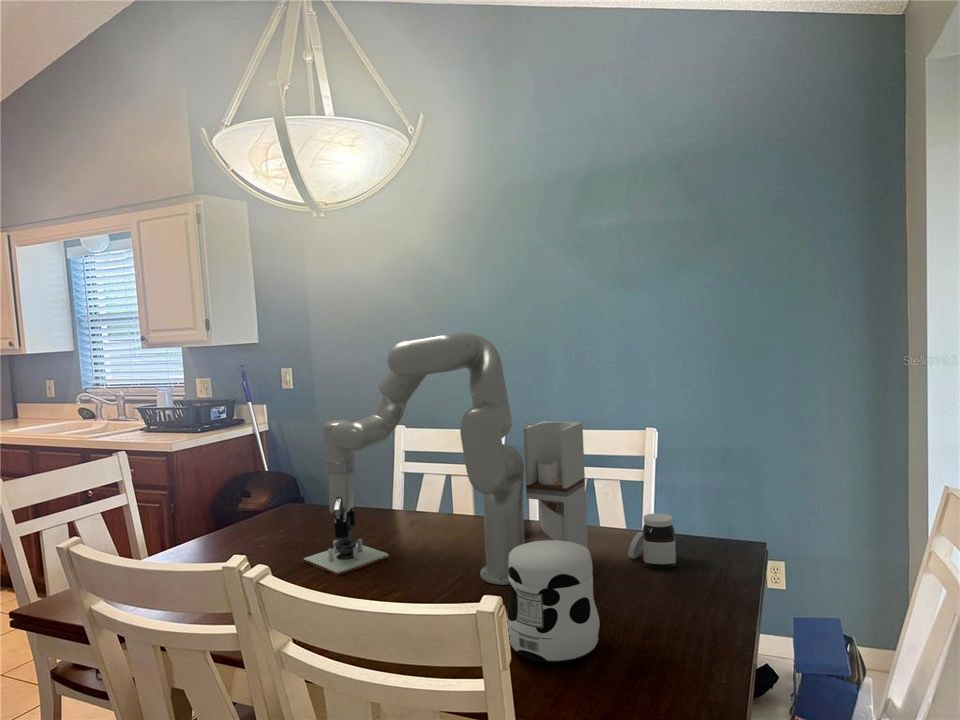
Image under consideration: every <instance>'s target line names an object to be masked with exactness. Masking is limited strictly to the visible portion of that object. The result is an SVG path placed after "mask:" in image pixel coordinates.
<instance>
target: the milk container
mask: <svg viewBox="0 0 960 720" xmlns="http://www.w3.org/2000/svg"><path fill="white" fill-rule="evenodd" d="M508 566H509V576H508V581H509V585H508V590H509V592H508V593H509V599H508V607H507V612H506V616H507V620H508V628H509V635H510V643H511V644H510V643H509V644H510V647H512V649H513V650H514V651H515V653H517V654H519V655H520V656H522V657H524V658H525V659H528V660H530V661H534V662H538V663H542V664H543V663H544V664H545V663H546V664H562V663H563V664H564V663H572V662H573V661H576V660H579V659H583V658H584V657H586V656H587V655H588V654H590V653H592V652H593V651H594V650H595V648H596V646H597V644H598V641H599V638H600V637H599V636H600V629H601V628H600V627H601V623H600V617H599V613H598V609H597V607H596V603H595V599H594V576H593V568H594V567H593V559H592V555H591V553H590V550H589V548H588V549H587V548H585V547H584V546H582V545H579V544H576V543H573V542H567V541H558V540H552V539H551V540H550V539H549V540H548V539H546V540H538V541H537V540H536V541H530V542H526V543H525V544H522V545H520V546H517V547H515V548H513V550H512V551H511V552H510V553H509V562H508Z"/></svg>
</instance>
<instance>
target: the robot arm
mask: <svg viewBox="0 0 960 720" xmlns="http://www.w3.org/2000/svg"><path fill="white" fill-rule="evenodd" d="M387 366H388V368H389V369H388V370H387V372H386V373H385V374H384V375H383V377H382V378H381V380H380V381H379V384H378V390H379V392H380V394H381V395H382V397H381V399H380V402H379V404H378V405H377V407H376V408H375V409H374V411H373V412H372V414H371V415H370V416H368V417H365V418H362V419H358V420H355V421H352V422H351V421H350V420H348V419H335V420H329V421H326V422H325V423H324V424H323V426H322V433H323V445H324V446H323V447H324V457H325V460H324V461H325V470H326V471H325V472H326V476H328V495H329V497H328V498H329V499H328V501H329V512H330V514H332V515H333V514H334V519H333V520H334V534H335V538H336V539H339V538H344V537H348V525H347V521H346V515H348V516H349V517H350V527H355V525H356V518H355V510H354V504H355V487H354V480H353V479H354V478H353V474H354V473H356V458H355V451H357V452H359V451H364V450H367V449H369V448H372V447H374V446H377V445H379V444H381V443H383V442H384V441H385V440H387V439H388V438H389V437H390V435H391V434H392V433H393V431H394V429H395V428H396V427H397V426H398V425H399V424H400V422H401V420H402V418H403V416H404V414H405V411H406V408H407V403H408V402H409V400H410V399H411V397H412V396H413V394H414V393H415V392H416V390H417V389H418V388H419V386H420V385H421V383H422V382H423V381H424V380H425V378H426V377H427V375H432V374H440V373H447V372H448V373H449V372H453V371H457V370H461V369H467V370H468V372H469V390H470V395H471V402H472V407H470V408H469V409H467V411H465V413H464V414H463V416H462V418H461V421H460V425H459V426H460V427H459V430H460V440H461V446H462V450H463V451H462V452H463V458H464V463H465V469H466V473H467V478H468V481H469V483H470V485H471V486H472V487H473V489H474V490H475V491H477V492H478V493H480V494H483V497H482V498H483V501H482V502H483V503H482V505H483V507H482V508H483V524H484V525H483V527H484V528H483V529H484V546H485V547H484V548H485V563H486V564H485V566H483V567H481V569H480V573H479V574H480V579H482V580H483V581H484V582H486V583H488V584H492V585H501V586H502V585H503V586H504V585H506V586H509V581H508V576H509V566H508V562H509V553H510V552H511V551H512V550H513V548H515V547H517V546H520V545H522V544H526V543H525V542H526V541H525V526H524V524H525V523H524V496H523V495H524V494H523V493H524V492H523V491H524V489H523V488H524V476H525V473H524V472H525V463H524V460H523V457H522V455H521V453H520V452H519V450H517V448H515V447H514V446H512V445H511V444H507V443H505V444H504V443H503V441H502V440H503V438H504V437H506V436H507V435H508V434H509V433H510V432H511V429H512V425H513V418H512V413H511V408H510V401H509V397H508V391H507V386H506V381H505V375H504V370H503V368H504V367H503V364H502V360H501V356H500V353H499V352H498V350H497V348H496V347H495V345H494V344H493V343H492V342H491V341H490V340H489V339H487V338H486V337H483V336H481V335H478V334H475V333H470V332H459V333H450V334H449V333H448V334H443V335H435V336H431V337H425V338H419V339H412V340H403V341H399V342H397V343H395V344H394V345H393V346H392V347H391V349H390V351H389V353H388V355H387Z"/></svg>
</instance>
